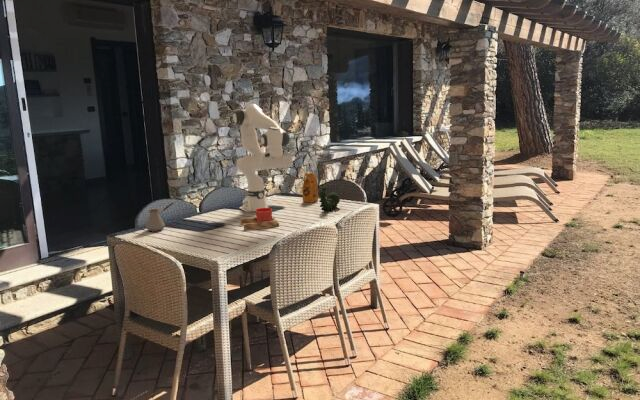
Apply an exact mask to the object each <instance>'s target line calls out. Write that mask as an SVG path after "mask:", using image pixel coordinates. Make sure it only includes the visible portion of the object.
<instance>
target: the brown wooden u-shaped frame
mask: <svg viewBox="0 0 640 400" xmlns="http://www.w3.org/2000/svg"><path fill="white" fill-rule="evenodd" d="M240 224H241V225H243V231H250V230H257V229H264V228H265V229H266V228H275V227H280V223H279V221H278V220H277V219H276V218H275V217H274V216H272V218H271V221H265V222H258V221H257V216H252V217H243V218H240ZM249 229H250V230H249Z"/></svg>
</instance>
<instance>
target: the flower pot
mask: <svg viewBox="0 0 640 400" xmlns="http://www.w3.org/2000/svg"><path fill="white" fill-rule="evenodd" d="M254 212H255V215H256V216H255V217H257V221H258V222H265V221H271V218H272V217H273V209H272V208H271V207H268V208H259V209H256V210H255V211H254Z"/></svg>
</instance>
